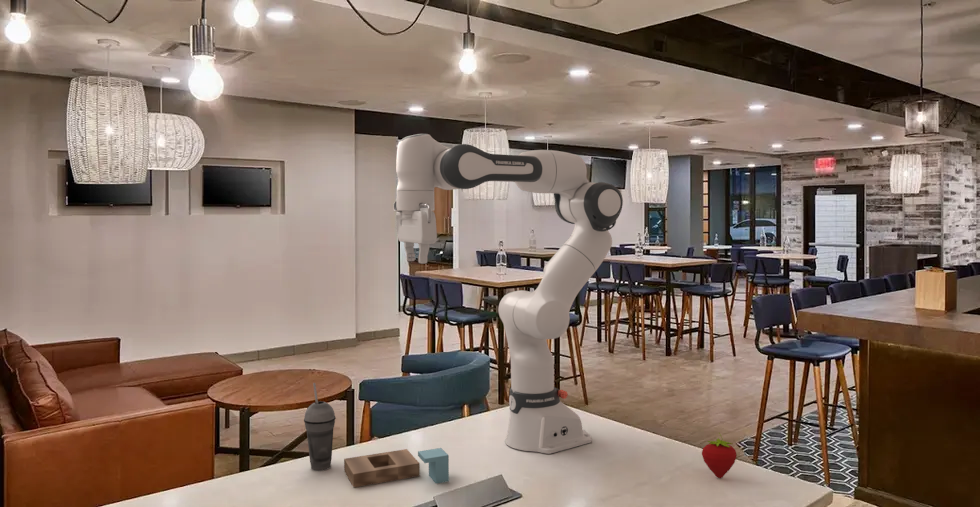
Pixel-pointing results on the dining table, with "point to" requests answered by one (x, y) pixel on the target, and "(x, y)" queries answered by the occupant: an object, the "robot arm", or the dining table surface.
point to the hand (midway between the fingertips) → (416, 262)
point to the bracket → (436, 464)
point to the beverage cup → (320, 433)
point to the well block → (381, 467)
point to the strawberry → (719, 457)
